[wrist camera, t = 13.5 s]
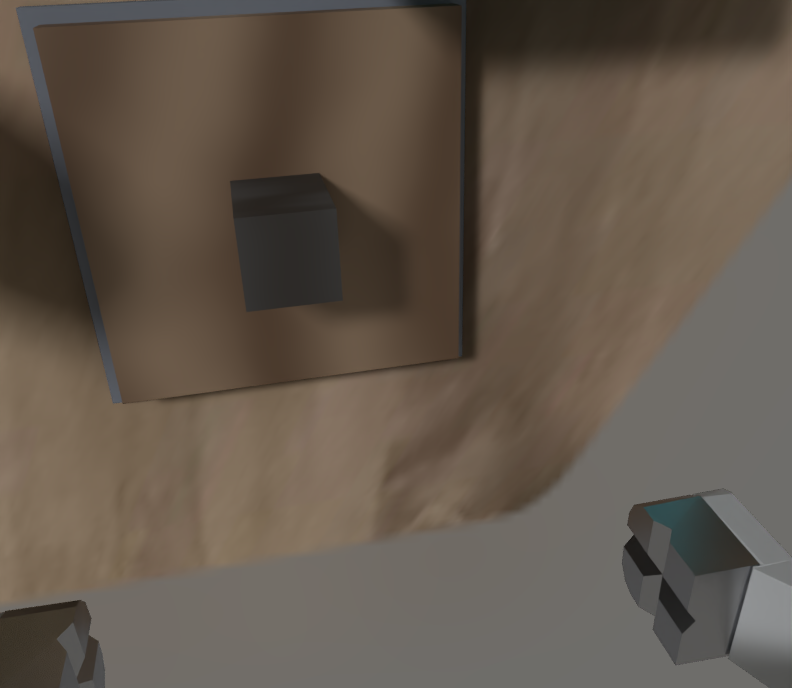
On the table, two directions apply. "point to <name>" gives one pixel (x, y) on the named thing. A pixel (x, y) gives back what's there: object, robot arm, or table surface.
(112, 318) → the lid
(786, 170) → the table surface
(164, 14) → the tray
